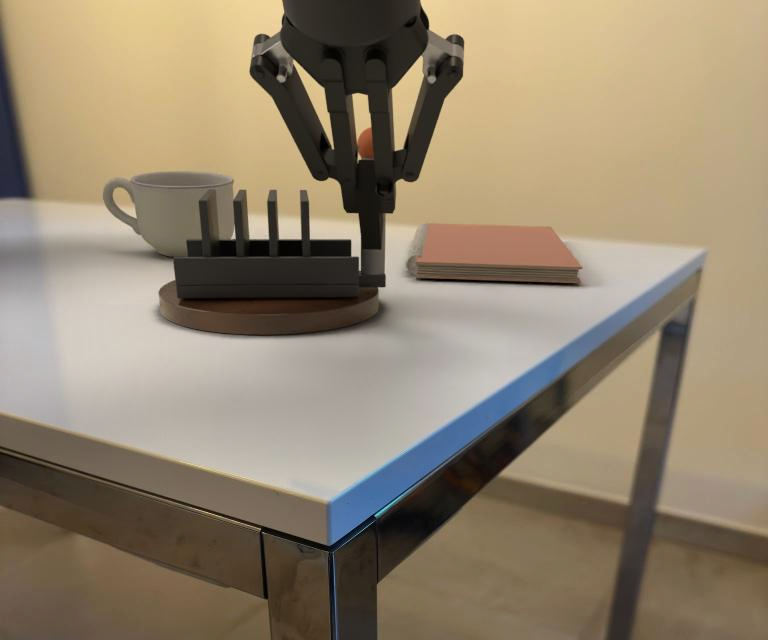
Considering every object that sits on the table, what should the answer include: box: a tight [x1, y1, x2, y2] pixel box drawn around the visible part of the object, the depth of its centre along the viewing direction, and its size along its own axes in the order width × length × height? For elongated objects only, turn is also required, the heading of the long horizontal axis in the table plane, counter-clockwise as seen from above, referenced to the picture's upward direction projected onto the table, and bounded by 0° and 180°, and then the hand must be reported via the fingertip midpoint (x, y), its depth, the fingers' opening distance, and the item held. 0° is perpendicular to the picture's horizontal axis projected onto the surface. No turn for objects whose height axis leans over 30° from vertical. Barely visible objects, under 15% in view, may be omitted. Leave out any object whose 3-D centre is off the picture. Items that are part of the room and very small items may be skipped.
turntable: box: [158, 279, 380, 336], centre depth 65 cm, size 18×18×2 cm
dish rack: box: [172, 126, 387, 298], centre depth 62 cm, size 17×9×12 cm, turn 96°
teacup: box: [102, 170, 235, 258], centre depth 85 cm, size 14×11×8 cm
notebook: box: [405, 222, 583, 284], centre depth 87 cm, size 27×17×2 cm, turn 175°
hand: (373, 234), depth 61 cm, fingers closed
